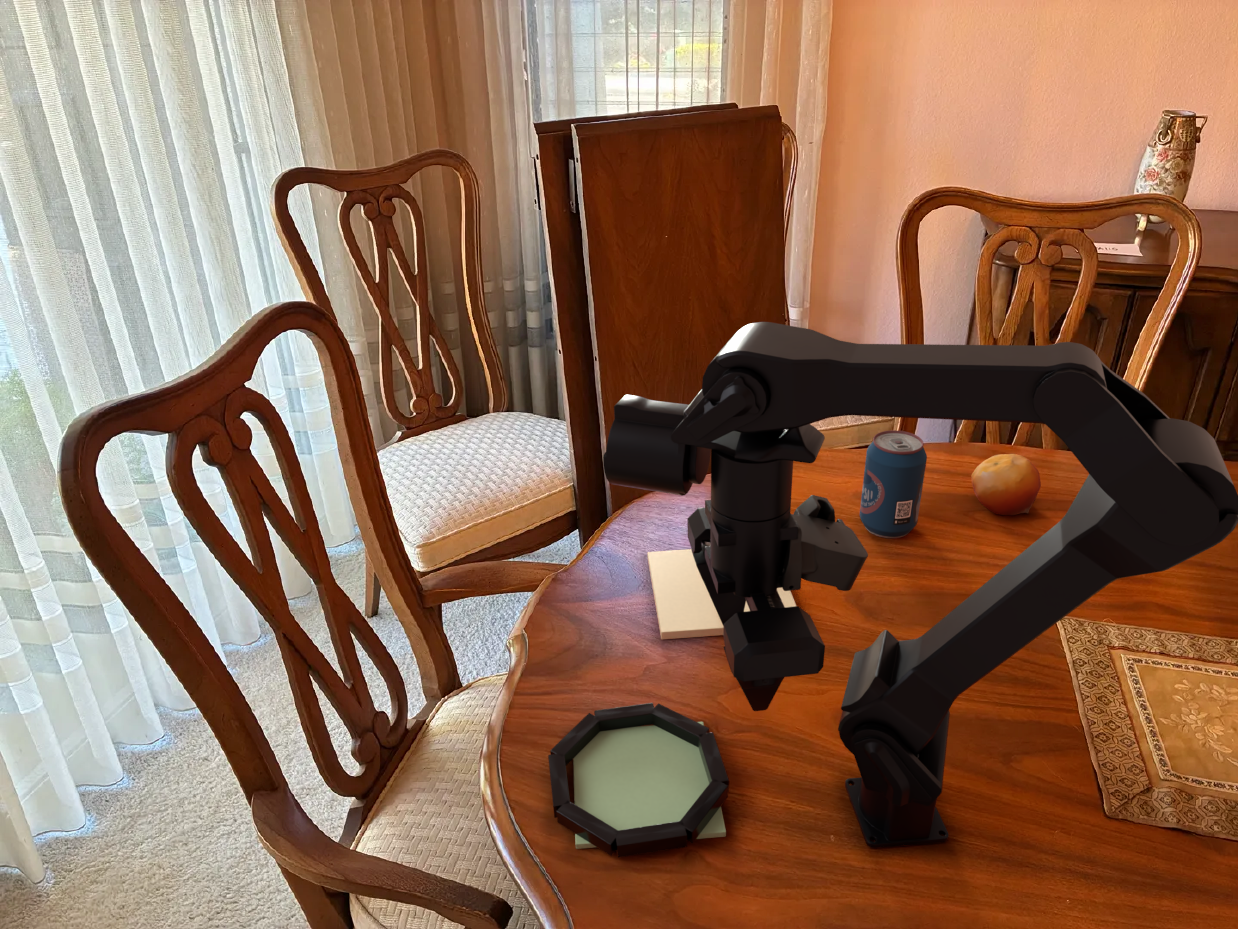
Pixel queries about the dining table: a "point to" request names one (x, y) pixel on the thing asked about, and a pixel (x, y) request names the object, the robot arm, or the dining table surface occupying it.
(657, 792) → the mat
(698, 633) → the stand
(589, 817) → the ring
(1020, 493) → the fruit
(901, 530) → the soda can
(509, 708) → the dining table surface
